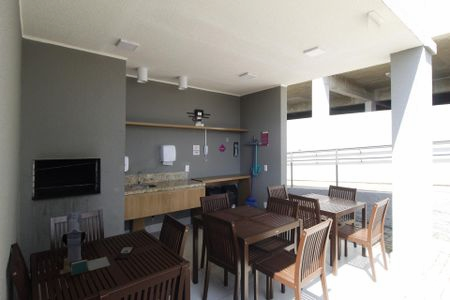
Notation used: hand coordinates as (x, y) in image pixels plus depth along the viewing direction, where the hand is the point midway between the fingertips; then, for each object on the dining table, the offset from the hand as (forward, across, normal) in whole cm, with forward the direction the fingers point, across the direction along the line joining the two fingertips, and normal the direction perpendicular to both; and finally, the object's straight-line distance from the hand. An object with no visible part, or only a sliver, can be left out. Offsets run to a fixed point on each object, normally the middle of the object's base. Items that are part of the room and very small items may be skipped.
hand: (74, 243), depth 147 cm
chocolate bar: (-7, +32, +19) cm, 38 cm away
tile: (+7, +4, +17) cm, 18 cm away
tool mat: (0, +14, +18) cm, 23 cm away
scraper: (0, -2, +19) cm, 19 cm away
